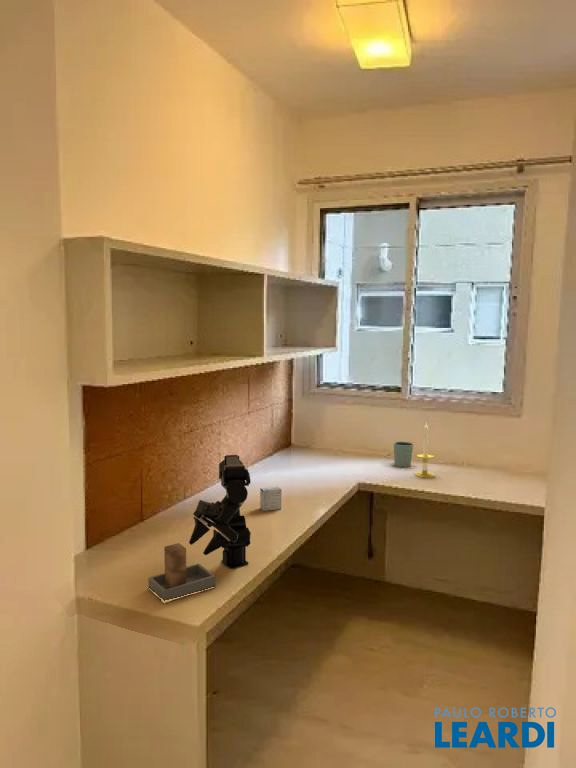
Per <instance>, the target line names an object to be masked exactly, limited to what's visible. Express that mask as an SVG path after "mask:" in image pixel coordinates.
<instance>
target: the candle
mask: <svg viewBox="0 0 576 768" xmlns="http://www.w3.org/2000/svg"><path fill="white" fill-rule="evenodd" d="M429 430H430V429H429V425H428V423H427V422H426V423H425V425H424V427H423V451H422V452H423V453H417V454H416V456H417V457H418V458H421V459H422V470H421V471H416V472H414V476H416V477H419V478H424V479H425V478H430V479H431V478H434V477H436V475H435V473H433V472H430V471H428V470H429V469H428V465H429V459H433V458H435V455H433V454H431V453H430V454H429V453H428V452H429Z"/></svg>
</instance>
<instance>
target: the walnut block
mask: <svg viewBox="0 0 576 768" xmlns="http://www.w3.org/2000/svg"><path fill="white" fill-rule="evenodd" d="M163 549H164V550H163V551H164V573H165V587H166V588H167V589H169V588H173V587H176V586H179V585H183V584H186V567H187V548H186V547H185V546H184V545H183V544H181V543H180V542H177V543H173V544H170V545H166V546H164V547H163Z"/></svg>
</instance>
